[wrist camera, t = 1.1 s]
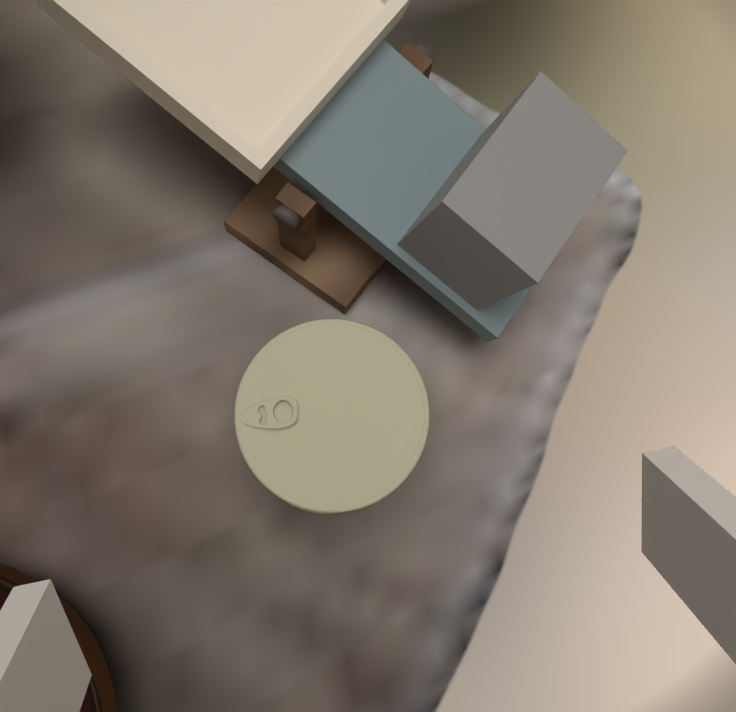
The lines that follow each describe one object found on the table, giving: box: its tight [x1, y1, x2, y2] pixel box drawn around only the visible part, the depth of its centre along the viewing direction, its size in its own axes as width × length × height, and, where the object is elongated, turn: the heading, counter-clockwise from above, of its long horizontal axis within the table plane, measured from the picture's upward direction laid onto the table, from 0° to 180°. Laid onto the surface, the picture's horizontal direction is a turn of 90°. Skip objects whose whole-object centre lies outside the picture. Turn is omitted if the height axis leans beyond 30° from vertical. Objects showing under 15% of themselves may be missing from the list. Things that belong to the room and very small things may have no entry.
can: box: [234, 319, 429, 514], centre depth 35 cm, size 9×9×12 cm
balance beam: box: [37, 0, 628, 341], centre depth 34 cm, size 30×14×8 cm, turn 54°
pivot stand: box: [224, 43, 434, 314], centre depth 41 cm, size 10×15×8 cm, turn 145°
